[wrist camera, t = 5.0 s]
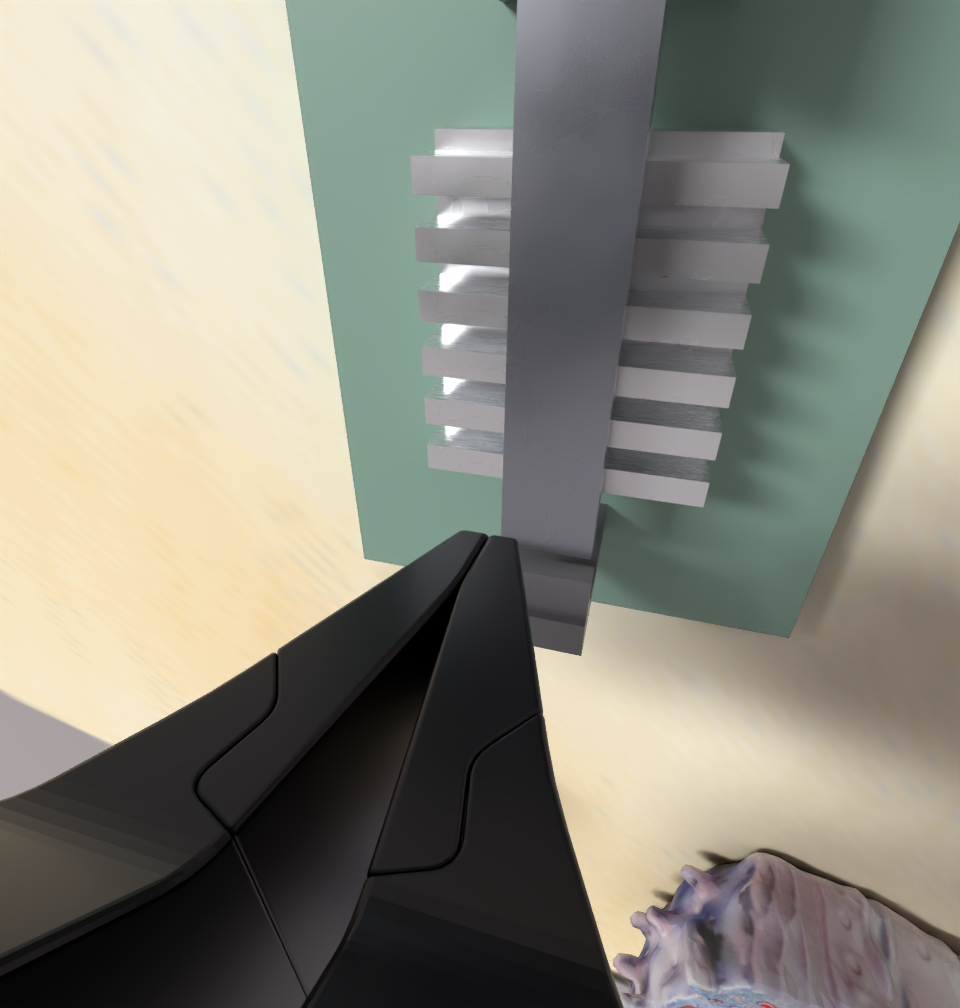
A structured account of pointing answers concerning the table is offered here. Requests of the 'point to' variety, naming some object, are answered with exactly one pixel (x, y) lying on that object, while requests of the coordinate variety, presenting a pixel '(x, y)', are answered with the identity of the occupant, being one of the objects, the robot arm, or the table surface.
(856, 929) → the cell model
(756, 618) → the board
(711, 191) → the heatsink
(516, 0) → the pivot mount
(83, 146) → the table surface
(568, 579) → the lug
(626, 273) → the strap
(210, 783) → the robot arm
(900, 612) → the table surface
